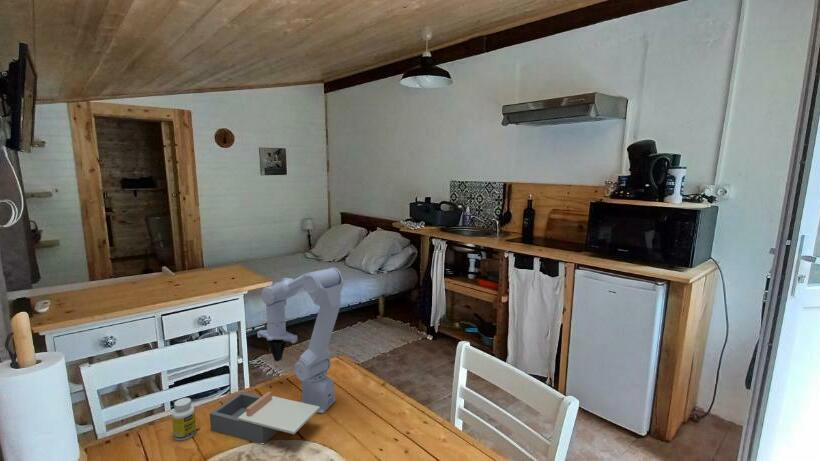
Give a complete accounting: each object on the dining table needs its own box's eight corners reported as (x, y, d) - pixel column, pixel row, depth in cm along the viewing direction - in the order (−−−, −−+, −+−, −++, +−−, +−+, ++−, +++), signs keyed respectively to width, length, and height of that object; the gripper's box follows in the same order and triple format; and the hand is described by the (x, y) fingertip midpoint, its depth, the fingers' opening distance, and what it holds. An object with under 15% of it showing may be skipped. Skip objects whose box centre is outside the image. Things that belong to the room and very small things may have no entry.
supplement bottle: (186, 442, 107) (183, 408, 106) (169, 439, 109) (165, 406, 107) (200, 430, 113) (198, 397, 111) (184, 427, 114) (181, 395, 112)
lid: (320, 408, 114) (319, 399, 113) (294, 434, 102) (293, 424, 102) (267, 396, 120) (267, 388, 119) (237, 419, 109) (237, 410, 108)
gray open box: (291, 418, 118) (290, 402, 117) (263, 444, 107) (262, 427, 106) (242, 406, 124) (241, 391, 123) (210, 430, 113) (209, 413, 112)
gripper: (249, 322, 131) (252, 361, 133) (287, 328, 126) (288, 368, 128) (264, 315, 138) (266, 352, 140) (300, 320, 133) (302, 359, 135)
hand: (278, 359), depth 135 cm, fingers closed
